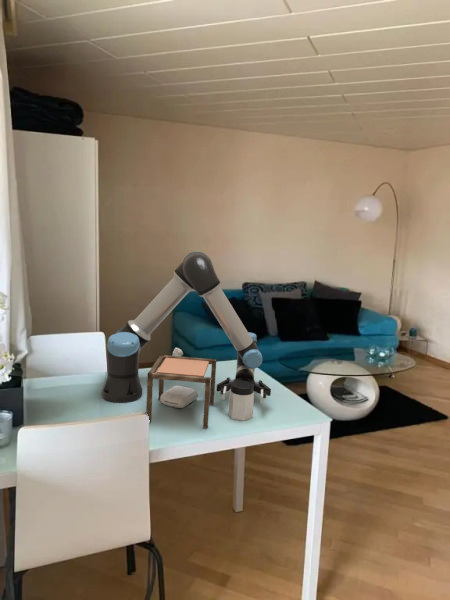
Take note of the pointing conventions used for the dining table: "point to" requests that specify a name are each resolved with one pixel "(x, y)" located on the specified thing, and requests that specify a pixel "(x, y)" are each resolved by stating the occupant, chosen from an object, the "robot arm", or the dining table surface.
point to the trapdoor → (183, 367)
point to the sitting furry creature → (177, 352)
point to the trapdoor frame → (153, 375)
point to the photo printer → (178, 396)
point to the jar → (241, 400)
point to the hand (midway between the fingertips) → (242, 398)
